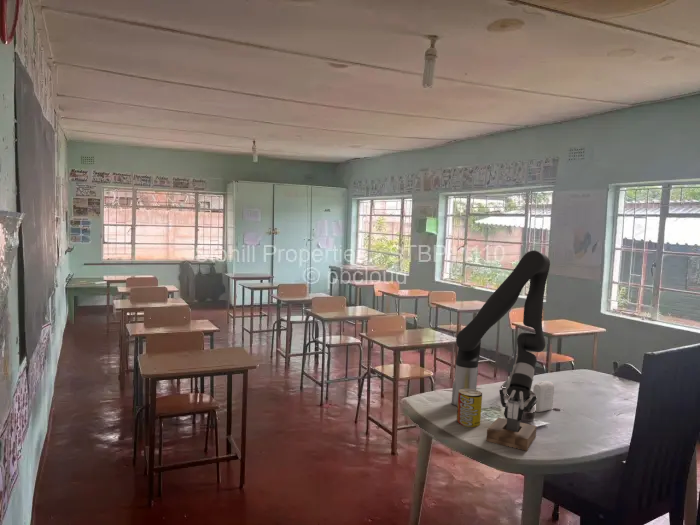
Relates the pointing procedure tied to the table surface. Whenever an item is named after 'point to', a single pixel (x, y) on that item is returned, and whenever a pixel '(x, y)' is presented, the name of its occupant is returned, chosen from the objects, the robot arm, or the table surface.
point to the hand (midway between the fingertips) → (512, 418)
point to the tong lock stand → (511, 434)
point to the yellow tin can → (469, 407)
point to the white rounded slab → (544, 395)
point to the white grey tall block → (513, 414)
